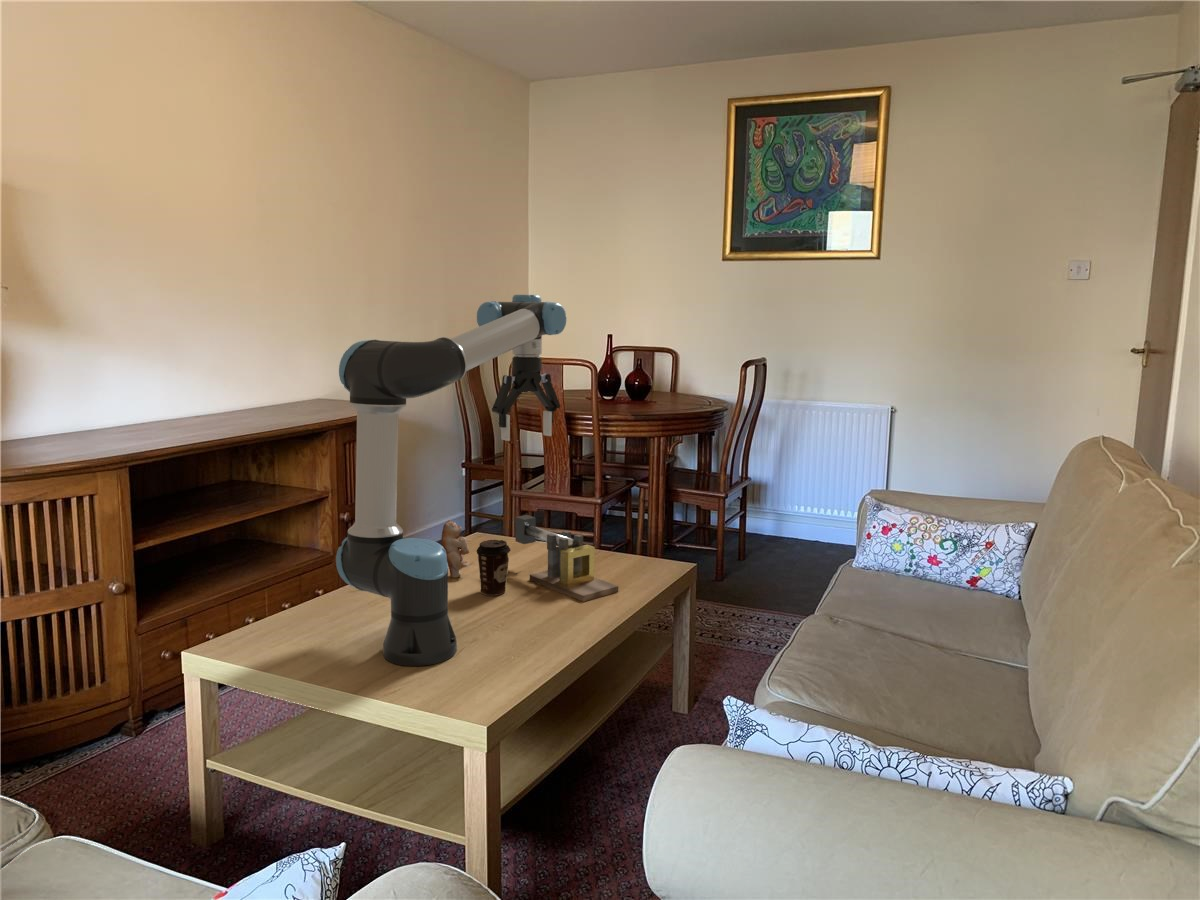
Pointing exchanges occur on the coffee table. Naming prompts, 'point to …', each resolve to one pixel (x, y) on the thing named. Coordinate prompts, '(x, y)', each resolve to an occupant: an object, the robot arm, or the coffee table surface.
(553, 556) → the bearing block
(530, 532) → the shaft
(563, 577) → the block
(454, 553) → the figurine
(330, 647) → the coffee table surface
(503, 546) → the coffee cup
